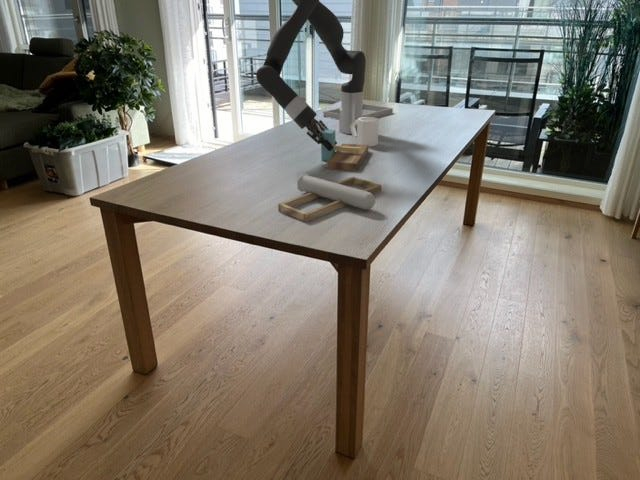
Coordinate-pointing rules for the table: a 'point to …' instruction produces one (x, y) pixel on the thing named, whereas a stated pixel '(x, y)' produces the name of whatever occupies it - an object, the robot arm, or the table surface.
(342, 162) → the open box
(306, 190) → the tube
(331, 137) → the teal ice pop
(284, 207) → the tube rack
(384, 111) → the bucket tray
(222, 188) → the table surface
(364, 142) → the mug
